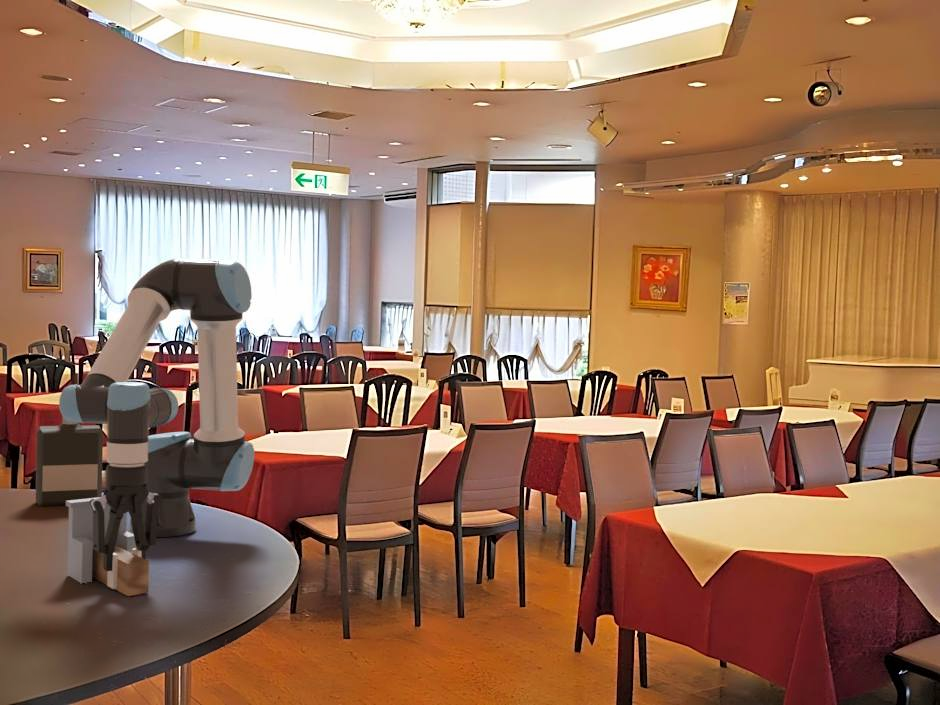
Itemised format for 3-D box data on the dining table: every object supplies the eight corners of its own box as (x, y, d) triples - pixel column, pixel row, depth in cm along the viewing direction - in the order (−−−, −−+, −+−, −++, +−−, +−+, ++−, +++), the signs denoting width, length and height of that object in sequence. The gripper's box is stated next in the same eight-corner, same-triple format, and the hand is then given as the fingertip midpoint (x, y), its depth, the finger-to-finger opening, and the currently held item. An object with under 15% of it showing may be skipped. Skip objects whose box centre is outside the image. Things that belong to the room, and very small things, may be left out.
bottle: (35, 501, 268) (36, 406, 267) (99, 498, 275) (101, 406, 274) (36, 507, 261) (38, 410, 260) (102, 504, 268) (104, 409, 266)
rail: (111, 573, 203) (111, 543, 203) (148, 592, 191) (149, 561, 191) (91, 576, 200) (91, 546, 200) (127, 596, 188) (128, 564, 188)
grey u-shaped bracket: (122, 566, 209) (124, 494, 208) (138, 574, 203) (140, 500, 202) (64, 575, 200) (65, 500, 200) (78, 584, 195) (80, 507, 194)
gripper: (160, 457, 201) (157, 574, 203) (74, 464, 190) (71, 587, 191) (178, 463, 196) (174, 582, 197) (90, 470, 184) (87, 597, 185)
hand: (124, 584), depth 194 cm, fingers closed on rail, 4 cm apart
